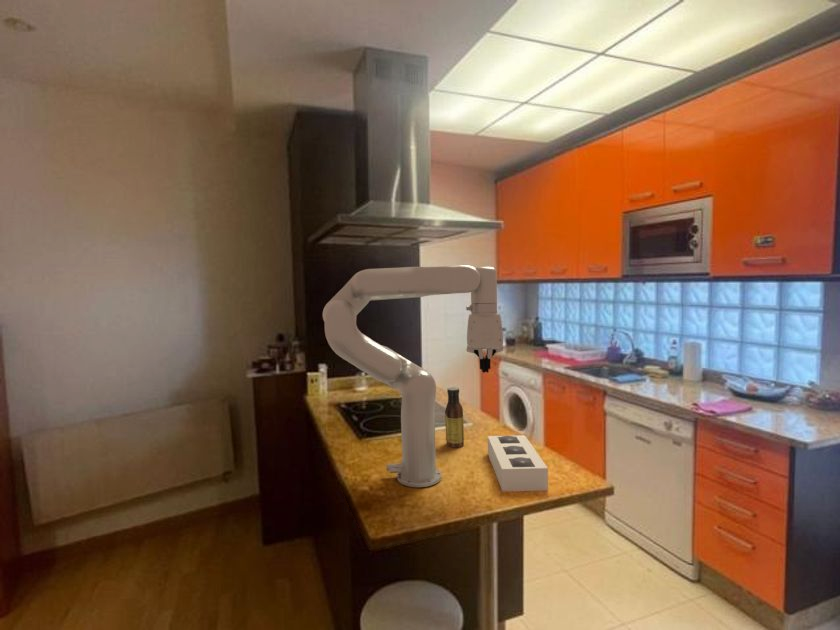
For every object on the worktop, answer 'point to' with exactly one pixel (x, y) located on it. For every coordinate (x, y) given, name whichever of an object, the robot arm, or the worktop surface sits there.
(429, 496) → the worktop surface
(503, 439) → the far cap
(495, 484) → the worktop surface
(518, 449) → the middle cap
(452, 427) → the sauce bottle
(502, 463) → the button panel
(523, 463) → the near cap
